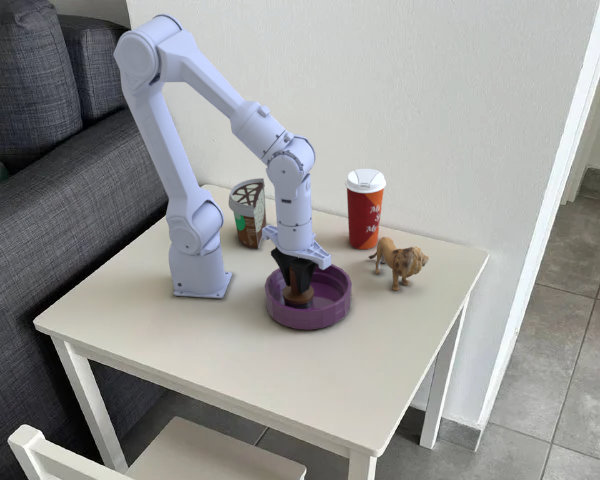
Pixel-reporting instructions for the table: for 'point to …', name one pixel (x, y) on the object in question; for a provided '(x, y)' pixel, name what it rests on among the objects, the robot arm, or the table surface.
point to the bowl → (326, 301)
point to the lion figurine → (399, 260)
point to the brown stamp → (297, 294)
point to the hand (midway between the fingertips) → (297, 287)
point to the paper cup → (364, 206)
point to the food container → (249, 211)
